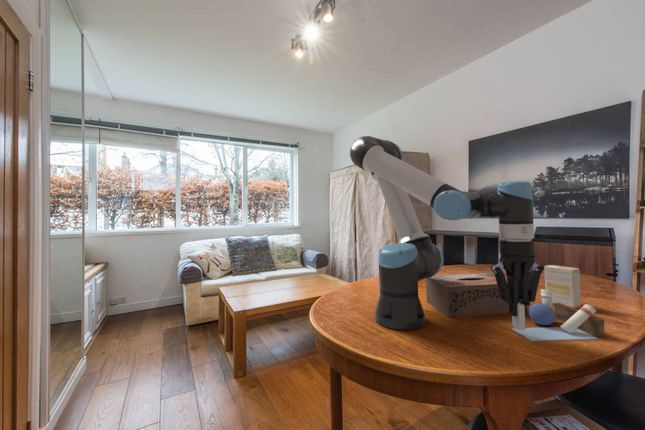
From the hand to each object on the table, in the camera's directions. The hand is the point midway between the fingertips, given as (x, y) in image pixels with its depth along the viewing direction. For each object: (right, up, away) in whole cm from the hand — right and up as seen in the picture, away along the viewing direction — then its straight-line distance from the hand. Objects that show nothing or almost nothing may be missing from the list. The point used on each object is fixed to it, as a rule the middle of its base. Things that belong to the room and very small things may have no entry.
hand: (518, 327), depth 71 cm
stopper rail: (+20, -1, +4) cm, 20 cm away
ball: (+11, +1, +6) cm, 12 cm away
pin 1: (+15, -1, +7) cm, 16 cm away
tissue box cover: (0, -2, +21) cm, 22 cm away
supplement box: (+31, -1, +21) cm, 37 cm away
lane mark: (+9, -2, 0) cm, 9 cm away
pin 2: (+12, -1, 0) cm, 12 cm away
